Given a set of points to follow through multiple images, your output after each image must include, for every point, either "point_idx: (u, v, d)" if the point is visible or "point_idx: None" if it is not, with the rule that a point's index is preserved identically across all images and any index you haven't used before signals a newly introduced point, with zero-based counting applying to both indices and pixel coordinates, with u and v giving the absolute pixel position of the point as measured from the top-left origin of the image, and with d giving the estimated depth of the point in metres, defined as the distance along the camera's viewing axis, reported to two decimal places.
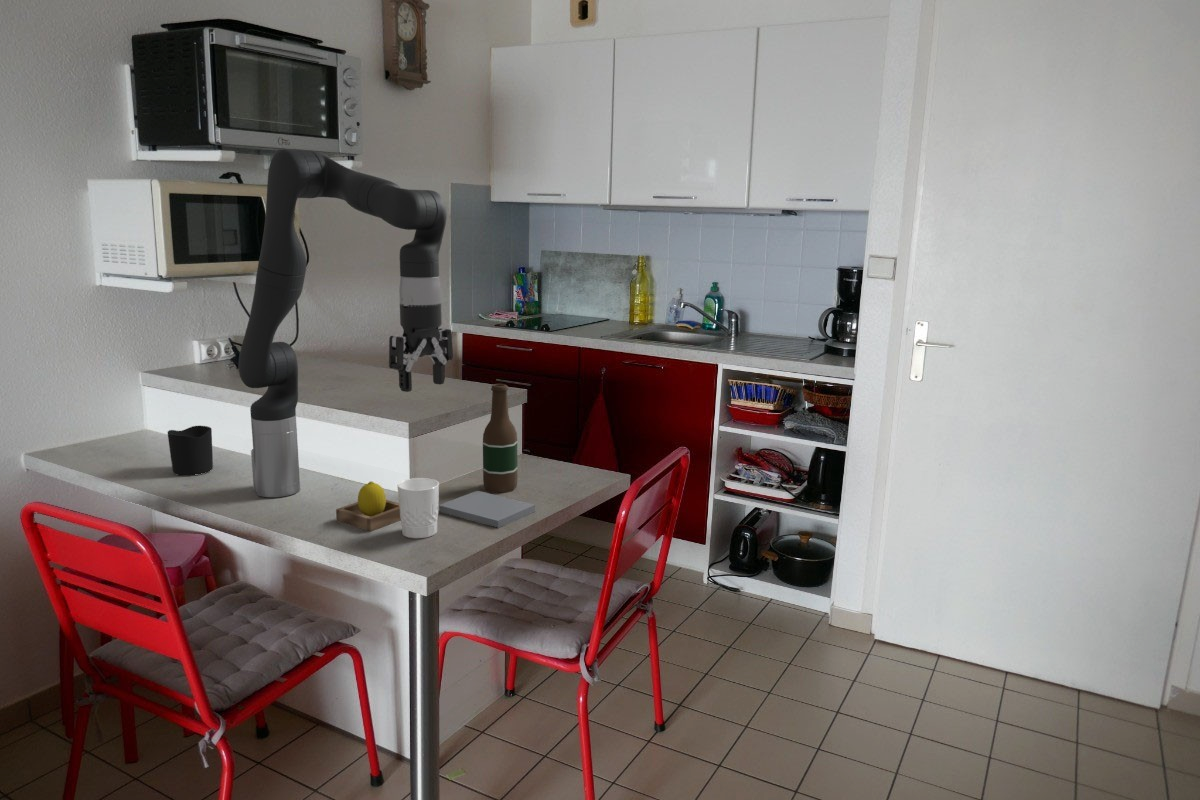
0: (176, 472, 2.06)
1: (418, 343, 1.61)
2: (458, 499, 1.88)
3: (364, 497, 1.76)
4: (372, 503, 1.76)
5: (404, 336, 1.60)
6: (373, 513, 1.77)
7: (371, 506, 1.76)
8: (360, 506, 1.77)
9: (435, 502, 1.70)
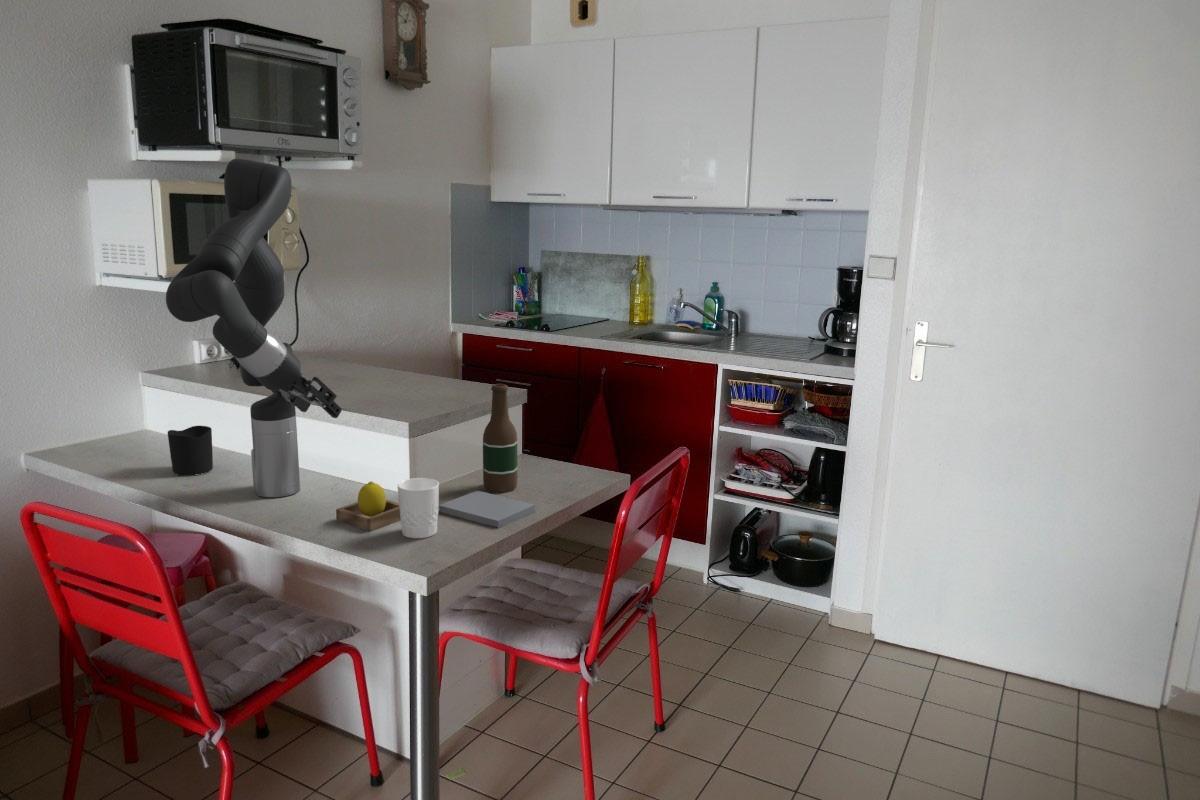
0: (176, 472, 2.06)
1: None
2: (458, 499, 1.88)
3: (364, 497, 1.76)
4: (372, 503, 1.76)
5: None
6: (373, 513, 1.77)
7: (371, 506, 1.76)
8: (360, 506, 1.77)
9: (435, 502, 1.70)
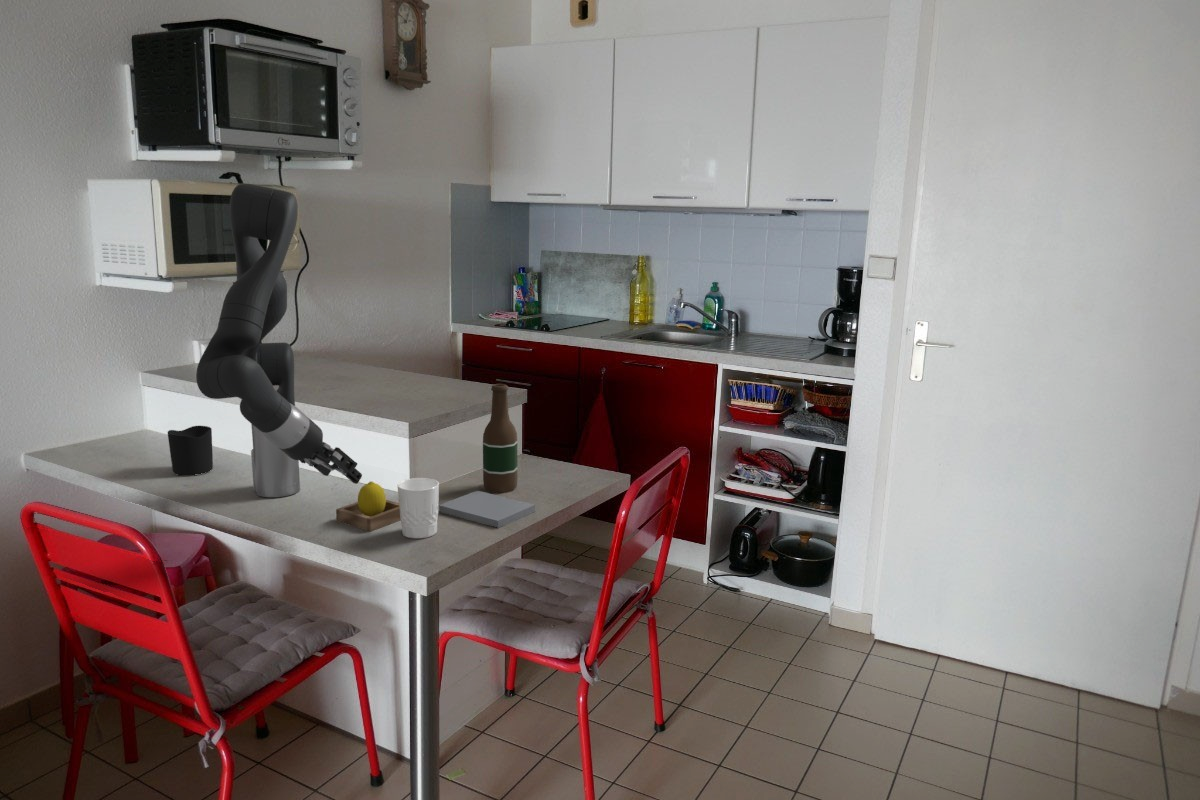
0: (176, 472, 2.06)
1: None
2: (458, 499, 1.88)
3: (364, 497, 1.76)
4: (372, 503, 1.76)
5: None
6: (373, 513, 1.77)
7: (371, 506, 1.76)
8: (360, 506, 1.77)
9: (435, 502, 1.70)
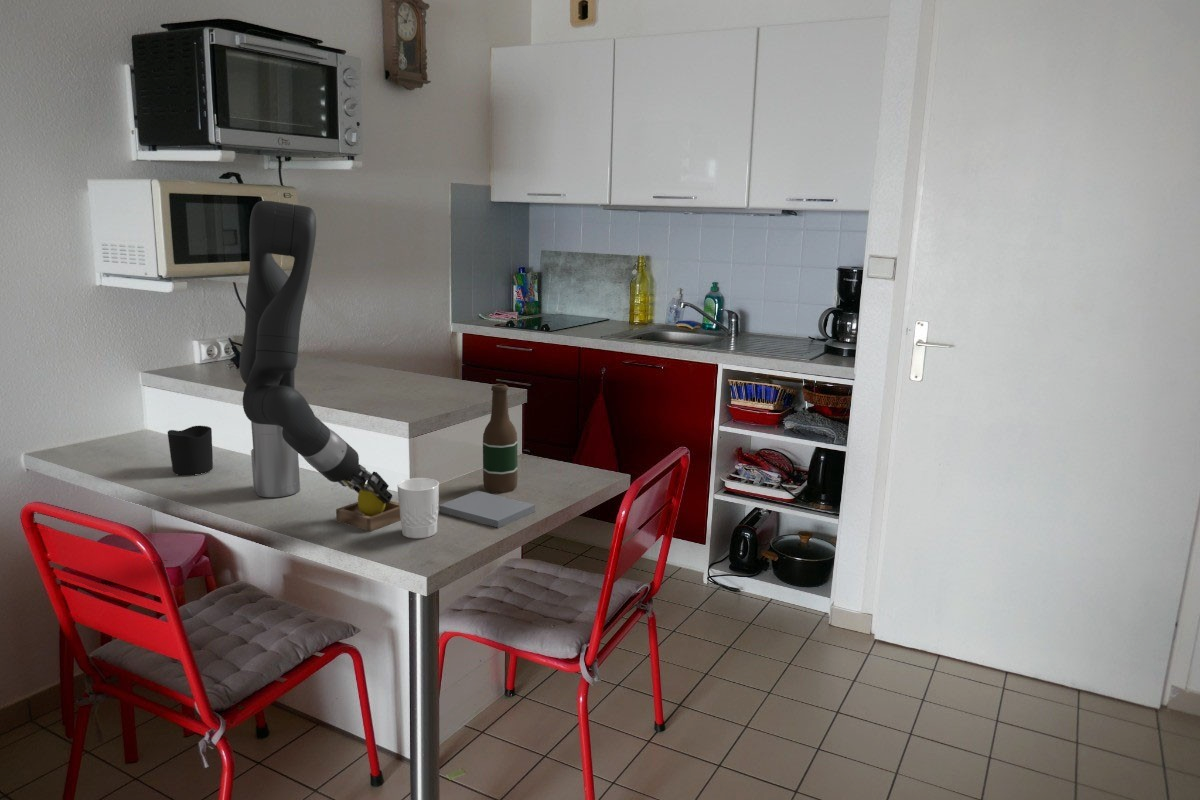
0: (176, 472, 2.06)
1: None
2: (458, 499, 1.88)
3: (364, 497, 1.76)
4: (372, 503, 1.76)
5: None
6: (373, 513, 1.77)
7: (371, 506, 1.76)
8: (360, 506, 1.77)
9: (435, 502, 1.70)
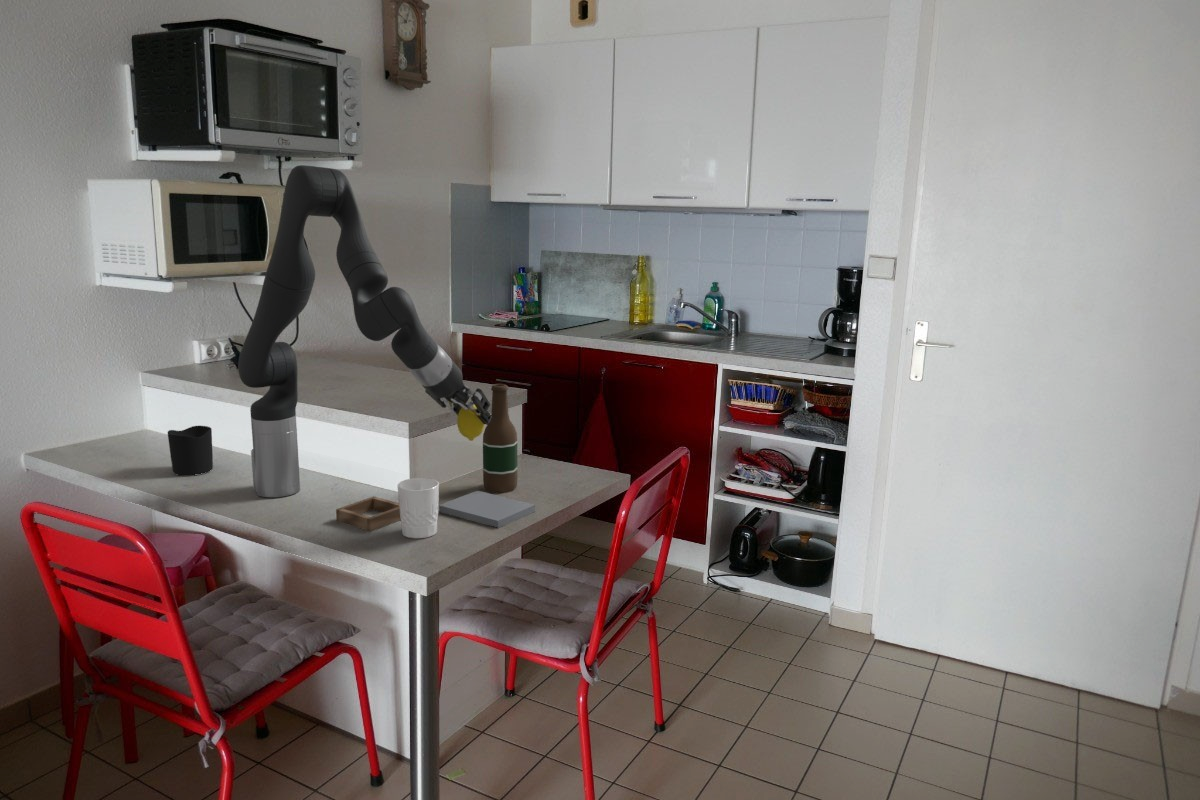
0: (176, 472, 2.06)
1: None
2: (458, 499, 1.88)
3: (464, 417, 1.76)
4: (472, 423, 1.76)
5: None
6: (472, 434, 1.77)
7: (471, 426, 1.76)
8: (460, 426, 1.77)
9: (435, 502, 1.70)
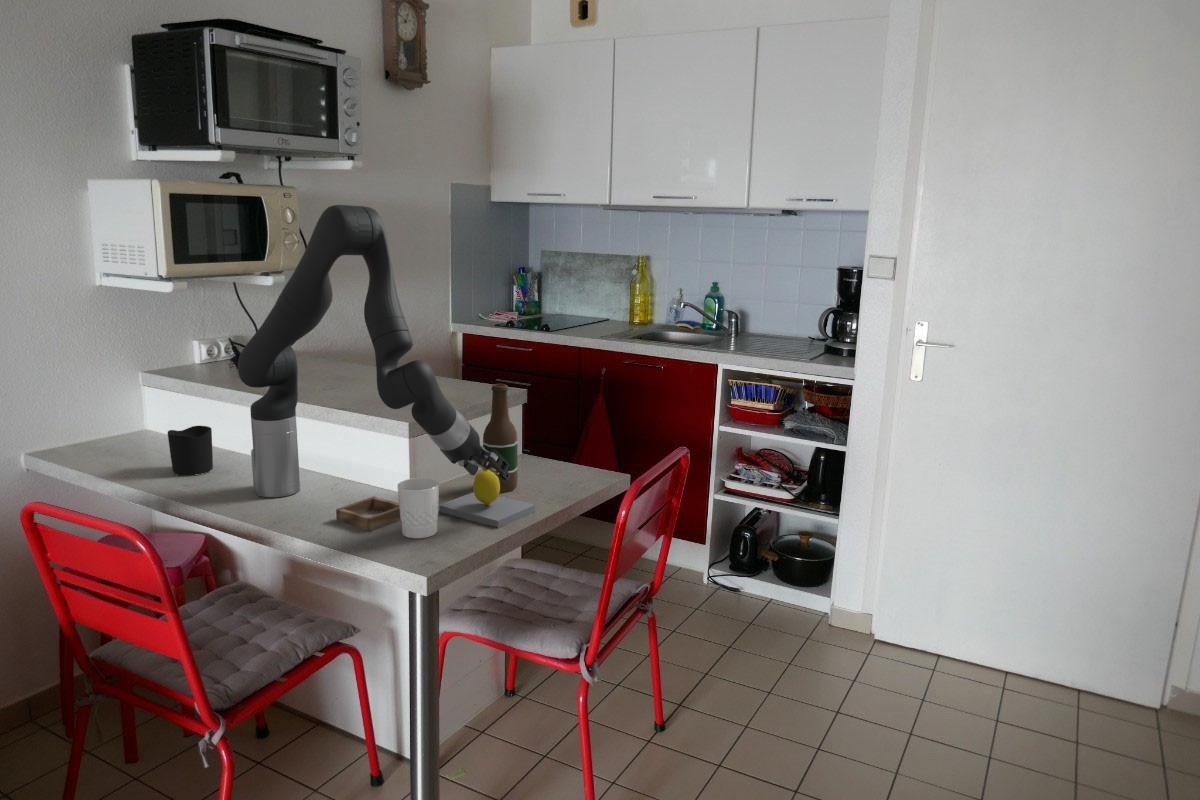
0: (176, 472, 2.06)
1: None
2: (458, 499, 1.88)
3: (480, 484, 1.81)
4: (489, 489, 1.81)
5: None
6: (489, 499, 1.82)
7: (487, 492, 1.81)
8: (476, 492, 1.82)
9: (435, 502, 1.70)
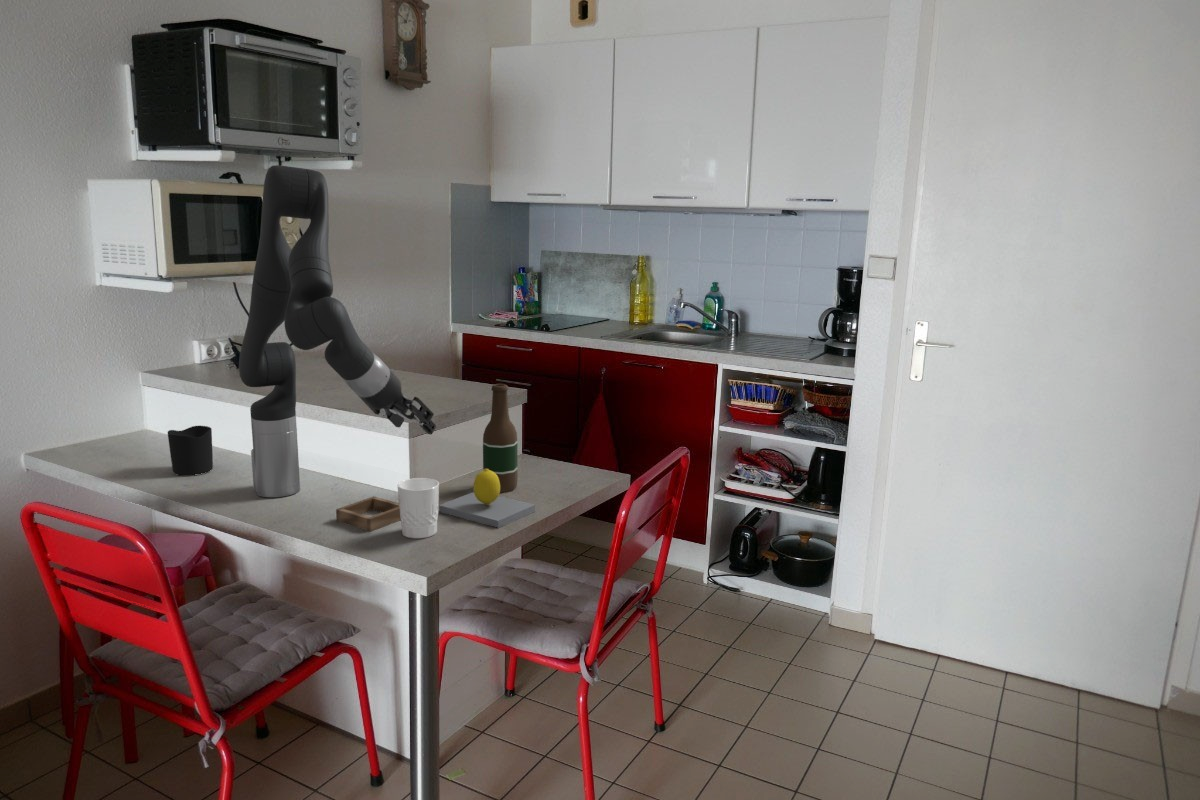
0: (176, 472, 2.06)
1: None
2: (458, 499, 1.88)
3: (481, 484, 1.81)
4: (489, 489, 1.81)
5: None
6: (489, 500, 1.82)
7: (488, 492, 1.81)
8: (477, 493, 1.81)
9: (435, 502, 1.70)
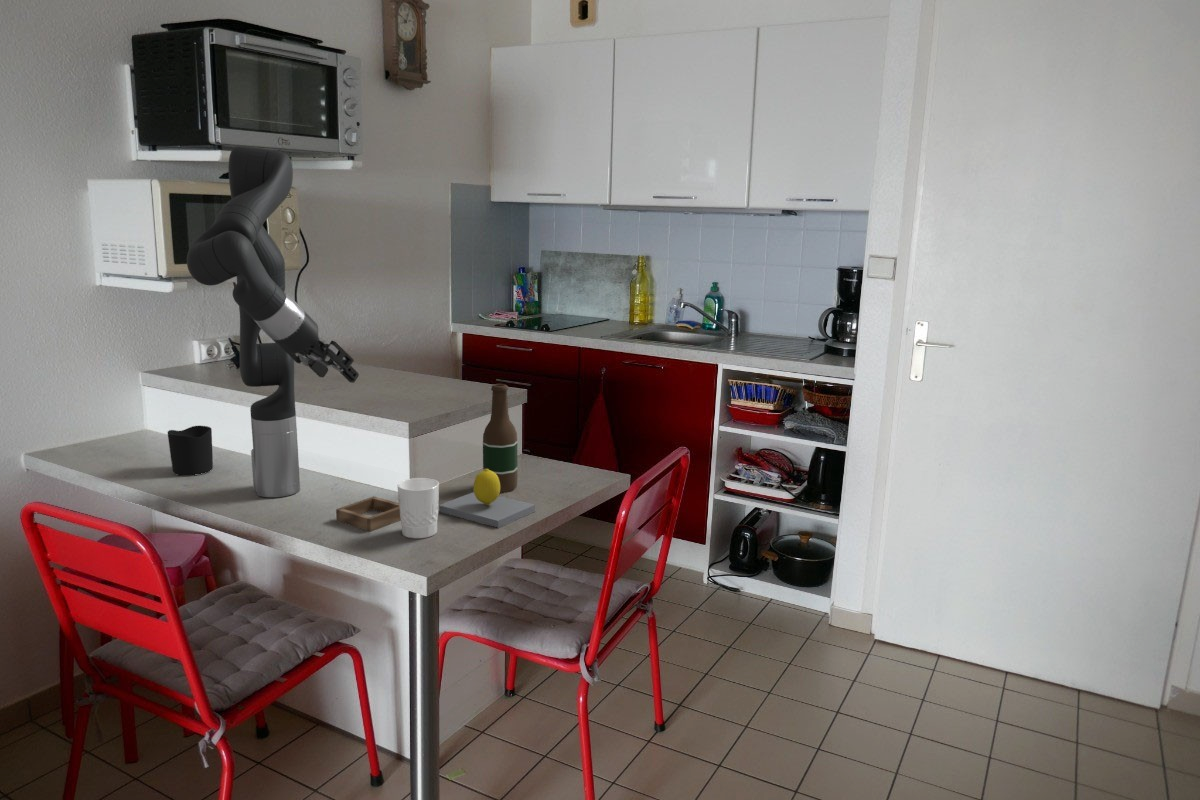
0: (176, 472, 2.06)
1: None
2: (458, 499, 1.88)
3: (481, 484, 1.81)
4: (489, 489, 1.81)
5: None
6: (489, 500, 1.82)
7: (488, 492, 1.81)
8: (477, 493, 1.81)
9: (435, 502, 1.70)
